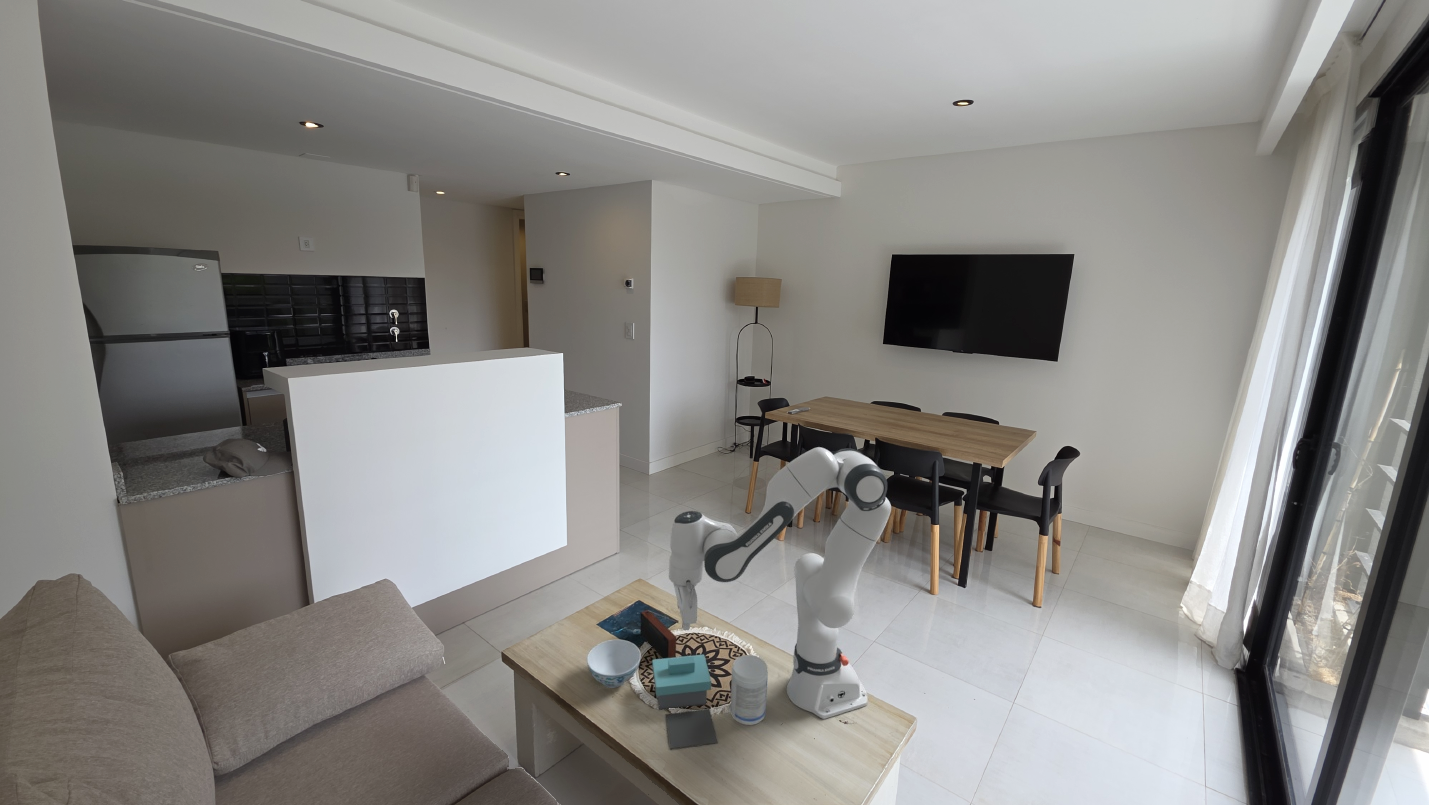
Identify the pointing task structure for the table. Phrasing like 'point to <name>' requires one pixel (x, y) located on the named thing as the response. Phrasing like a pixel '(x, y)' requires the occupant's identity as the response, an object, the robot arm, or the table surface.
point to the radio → (658, 635)
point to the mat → (690, 729)
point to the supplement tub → (749, 689)
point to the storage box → (682, 700)
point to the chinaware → (613, 662)
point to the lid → (681, 675)
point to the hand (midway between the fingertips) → (683, 617)
